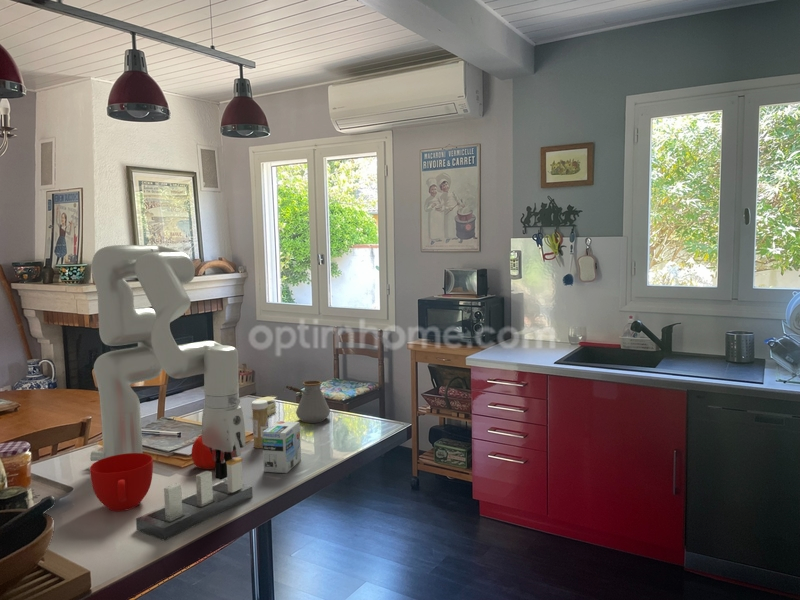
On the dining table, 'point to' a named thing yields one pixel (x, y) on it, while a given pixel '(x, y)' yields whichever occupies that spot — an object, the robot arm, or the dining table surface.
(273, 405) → the stacked layers on plate
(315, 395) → the coffee pot
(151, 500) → the dining table surface
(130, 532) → the dining table surface
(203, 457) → the tomato
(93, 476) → the ceramic cup
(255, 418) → the sprinkles bottle
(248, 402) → the dining table surface
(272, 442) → the light bulb box
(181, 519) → the breaker panel
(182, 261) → the robot arm
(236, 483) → the handle
